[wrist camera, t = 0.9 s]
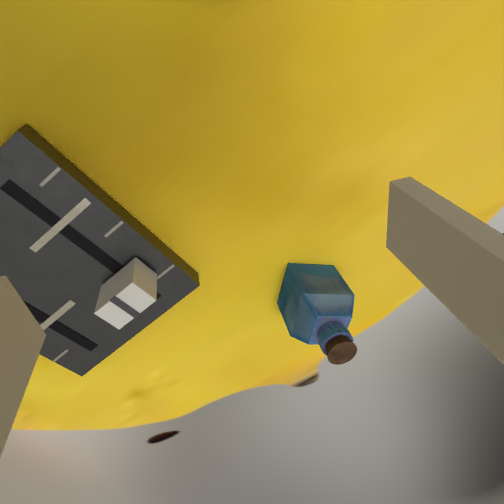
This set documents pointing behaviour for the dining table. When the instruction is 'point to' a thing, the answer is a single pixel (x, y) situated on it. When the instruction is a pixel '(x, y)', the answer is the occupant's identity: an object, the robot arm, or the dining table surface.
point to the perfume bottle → (318, 309)
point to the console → (74, 252)
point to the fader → (127, 294)
